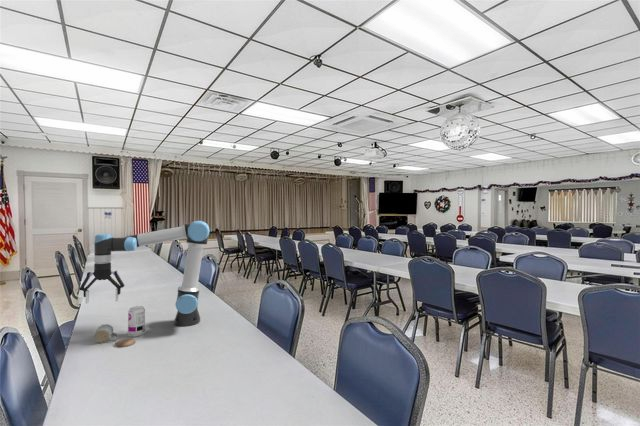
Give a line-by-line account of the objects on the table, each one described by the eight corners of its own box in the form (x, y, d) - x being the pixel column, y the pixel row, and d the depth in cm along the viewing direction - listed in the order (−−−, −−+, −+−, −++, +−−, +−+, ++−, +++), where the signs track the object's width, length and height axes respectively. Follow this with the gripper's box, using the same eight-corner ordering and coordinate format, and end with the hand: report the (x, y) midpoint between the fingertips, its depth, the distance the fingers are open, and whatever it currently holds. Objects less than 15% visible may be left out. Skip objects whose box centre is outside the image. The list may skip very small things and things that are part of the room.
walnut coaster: (138, 339, 171) (138, 337, 171) (131, 346, 162) (131, 344, 162) (119, 341, 169) (119, 339, 169) (112, 348, 160) (112, 346, 160)
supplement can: (127, 338, 173) (127, 310, 173) (128, 333, 180) (129, 306, 180) (144, 335, 177) (144, 308, 177) (145, 330, 184) (145, 305, 184)
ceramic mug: (93, 344, 164) (93, 329, 164) (96, 339, 171) (97, 324, 171) (117, 342, 168) (117, 327, 168) (119, 336, 176) (120, 322, 176)
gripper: (130, 260, 179) (130, 297, 179) (77, 262, 170) (76, 302, 170) (127, 262, 172) (127, 301, 172) (72, 264, 163) (71, 305, 163)
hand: (102, 301), depth 171 cm, fingers open, 13 cm apart
